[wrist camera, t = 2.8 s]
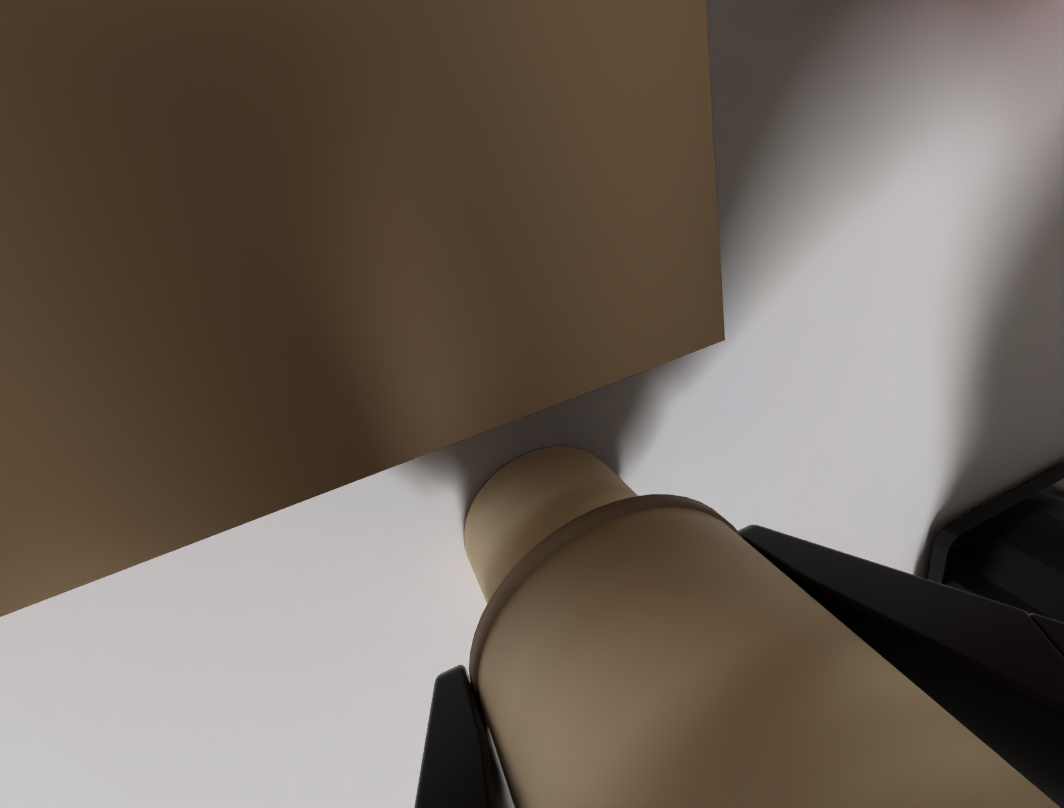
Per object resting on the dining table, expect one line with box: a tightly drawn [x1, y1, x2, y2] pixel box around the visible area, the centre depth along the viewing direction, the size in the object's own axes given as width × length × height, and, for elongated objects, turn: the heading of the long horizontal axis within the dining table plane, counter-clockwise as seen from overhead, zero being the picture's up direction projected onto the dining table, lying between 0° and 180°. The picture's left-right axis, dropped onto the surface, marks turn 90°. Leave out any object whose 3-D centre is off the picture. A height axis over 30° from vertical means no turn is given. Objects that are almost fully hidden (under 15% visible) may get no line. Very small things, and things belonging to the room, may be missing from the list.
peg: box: [464, 446, 1060, 808], centre depth 7 cm, size 4×4×8 cm
